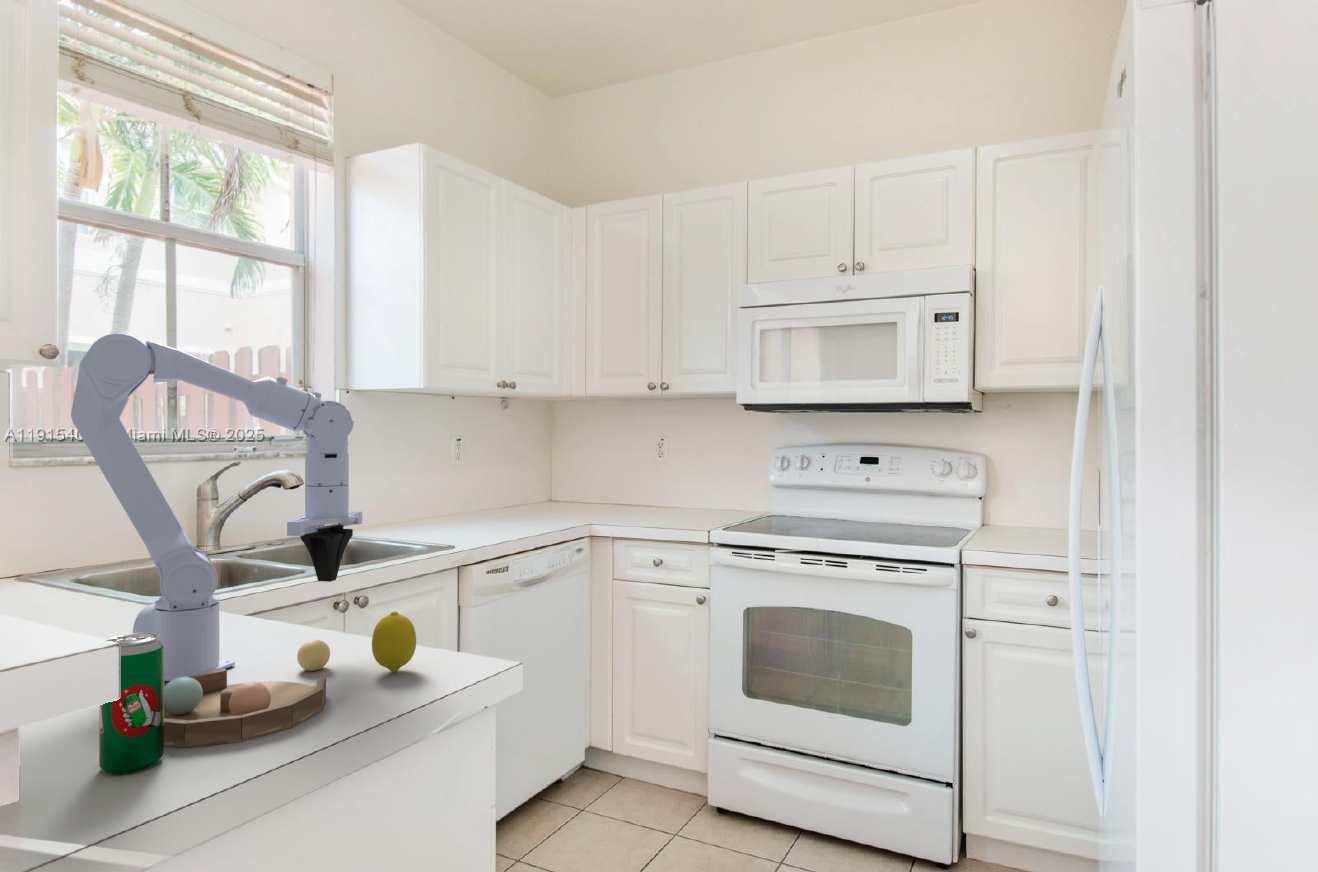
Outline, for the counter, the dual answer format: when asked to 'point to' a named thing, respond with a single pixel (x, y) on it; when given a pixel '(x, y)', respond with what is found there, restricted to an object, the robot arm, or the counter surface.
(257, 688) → the bead terracotta
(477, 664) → the counter surface
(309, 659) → the pale yellow ball
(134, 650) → the soda can
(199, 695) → the bead teal
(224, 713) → the groove tray
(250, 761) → the counter surface
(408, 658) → the lemon
